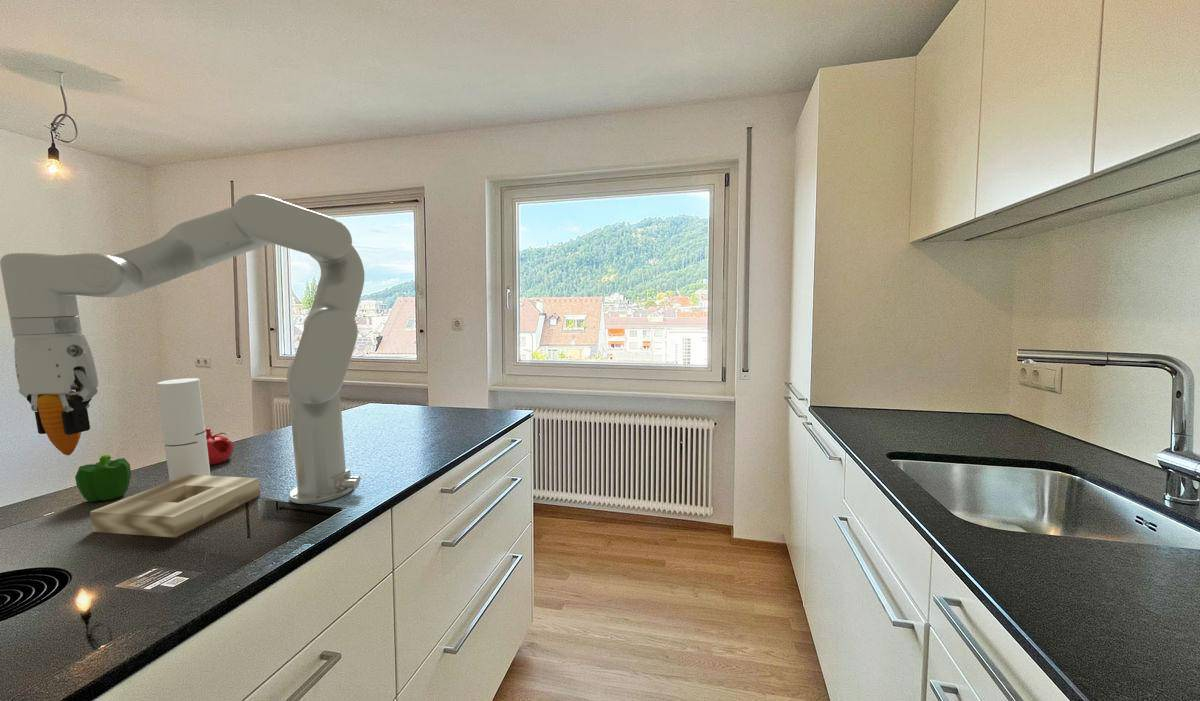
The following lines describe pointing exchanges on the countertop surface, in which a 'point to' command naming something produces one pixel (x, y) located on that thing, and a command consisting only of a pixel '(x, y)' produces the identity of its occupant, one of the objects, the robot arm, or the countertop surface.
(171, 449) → the cylindrical container
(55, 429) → the carrot
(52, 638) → the countertop surface
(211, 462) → the pomegranate
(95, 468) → the bell pepper
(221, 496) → the maple block
